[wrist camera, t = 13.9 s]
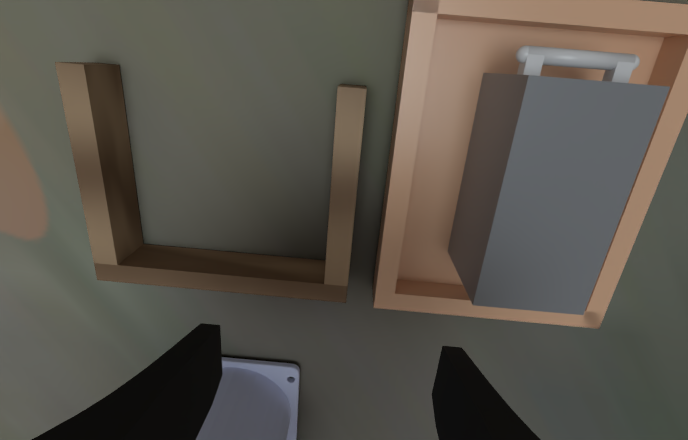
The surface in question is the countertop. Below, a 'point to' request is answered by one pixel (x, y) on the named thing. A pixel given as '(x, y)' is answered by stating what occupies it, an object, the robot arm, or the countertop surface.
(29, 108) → the countertop surface
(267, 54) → the countertop surface
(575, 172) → the caddy
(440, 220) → the tray
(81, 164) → the bay
